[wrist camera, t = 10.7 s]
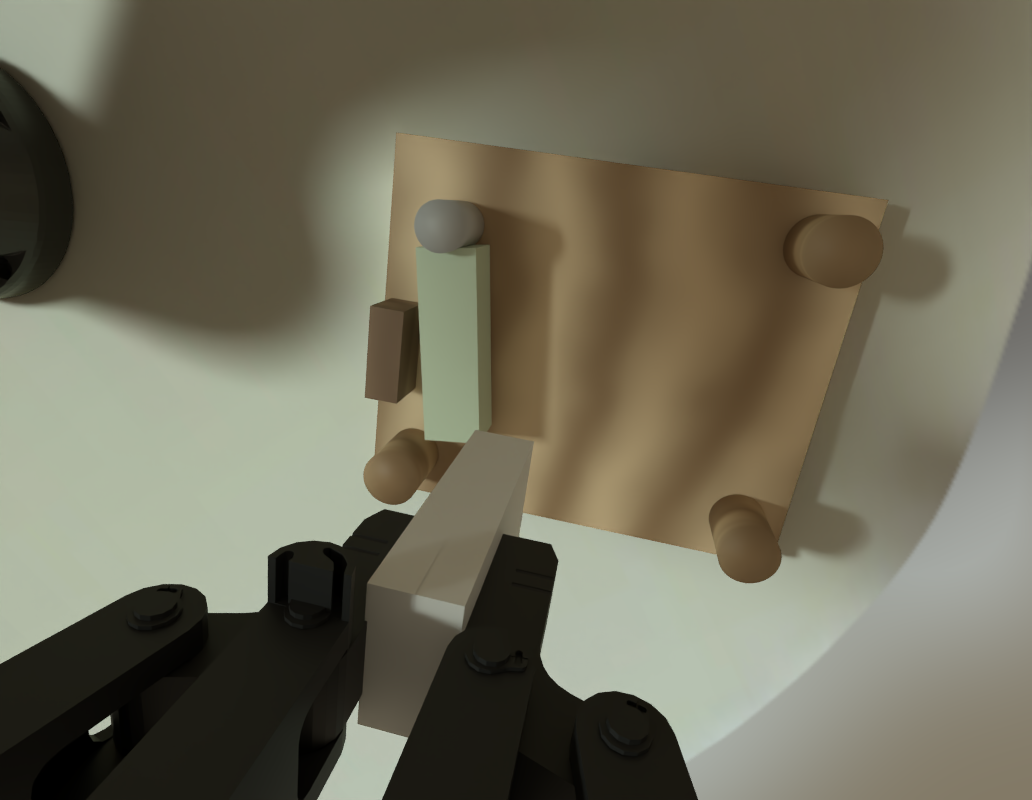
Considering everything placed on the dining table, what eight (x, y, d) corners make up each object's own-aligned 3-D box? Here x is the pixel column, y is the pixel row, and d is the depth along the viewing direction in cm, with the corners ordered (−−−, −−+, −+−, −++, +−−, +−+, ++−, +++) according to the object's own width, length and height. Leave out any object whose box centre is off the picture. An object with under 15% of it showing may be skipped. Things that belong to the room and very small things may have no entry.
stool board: (385, 467, 39) (344, 510, 34) (409, 137, 33) (363, 122, 27) (762, 547, 36) (787, 609, 31) (872, 200, 30) (928, 198, 24)
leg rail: (433, 200, 31) (406, 199, 28) (489, 200, 31) (470, 199, 27) (441, 420, 35) (419, 446, 31) (492, 423, 35) (475, 450, 31)
